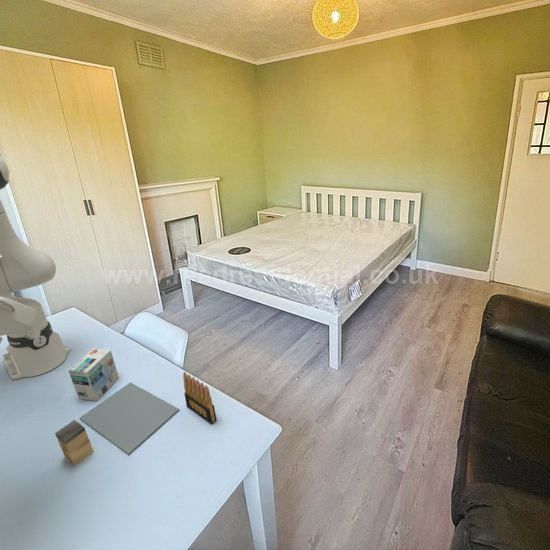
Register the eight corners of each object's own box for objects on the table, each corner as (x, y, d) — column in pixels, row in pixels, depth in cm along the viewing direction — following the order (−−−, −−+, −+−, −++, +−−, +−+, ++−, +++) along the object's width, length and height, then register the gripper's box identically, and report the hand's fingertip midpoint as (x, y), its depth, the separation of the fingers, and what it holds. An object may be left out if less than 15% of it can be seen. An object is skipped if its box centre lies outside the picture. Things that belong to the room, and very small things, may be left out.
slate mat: (79, 419, 90) (79, 417, 89) (130, 383, 102) (130, 382, 102) (128, 455, 78) (128, 453, 78) (179, 410, 91) (179, 409, 90)
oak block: (65, 457, 79) (54, 433, 76) (83, 443, 82) (74, 419, 79) (75, 466, 77) (64, 441, 73) (93, 451, 80) (84, 427, 77)
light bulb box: (97, 402, 95) (87, 372, 91) (77, 399, 97) (66, 370, 93) (120, 377, 105) (111, 349, 101) (101, 375, 106) (92, 347, 102)
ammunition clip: (217, 420, 87) (211, 384, 82) (211, 424, 85) (205, 389, 81) (191, 402, 93) (185, 368, 88) (186, 406, 92) (179, 372, 87)
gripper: (0, 280, 54) (66, 316, 65) (-92, 300, 58) (-16, 331, 69) (-17, 314, 50) (55, 347, 61) (-115, 333, 54) (-30, 361, 65)
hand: (17, 339), depth 65 cm, fingers open, 8 cm apart
